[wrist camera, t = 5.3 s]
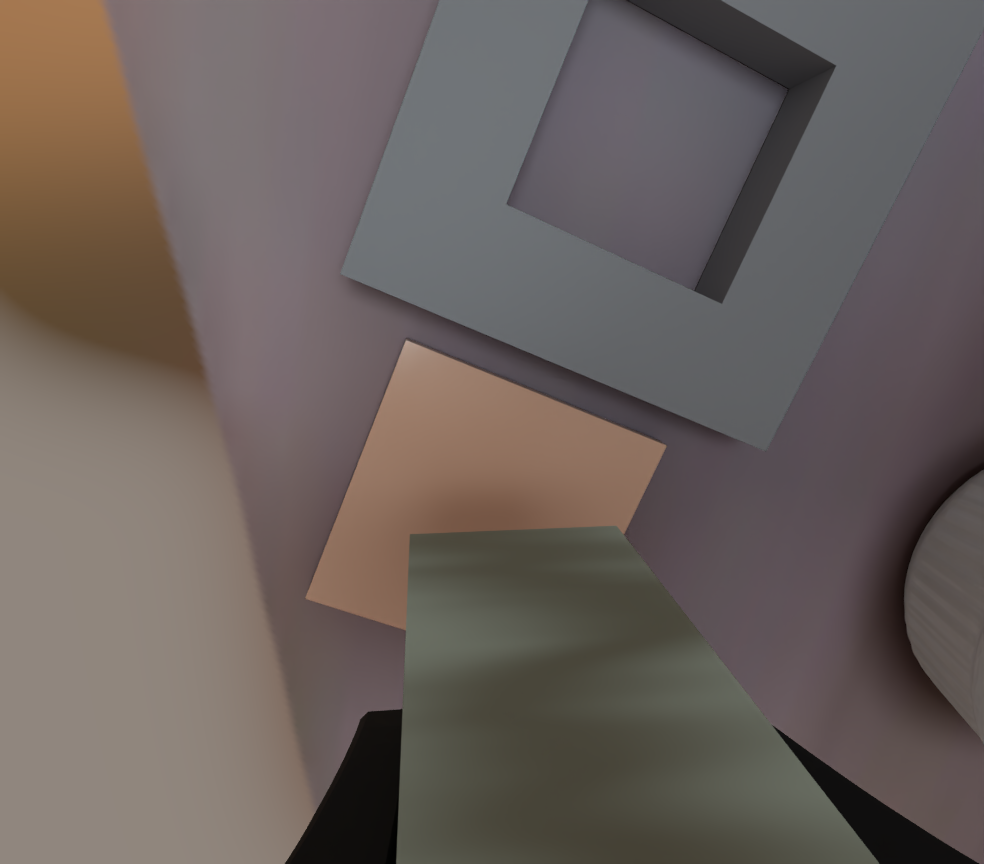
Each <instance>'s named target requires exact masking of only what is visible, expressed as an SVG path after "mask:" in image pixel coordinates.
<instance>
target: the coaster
mask: <svg viewBox="0 0 984 864" xmlns="http://www.w3.org/2000/svg"><path fill="white" fill-rule="evenodd" d="M666 447H667V445H665V444H664V443H662V442H661V441H660V440H657V439H655V438H652V437H650V436H647V435H645V434H642V433H640V432H637V431H635V430H632V429H630V428H628V427H625V426H623V425H620V424H618V423H615V422H613V421H610V420H608V419H605V418H603V417H600V416H598V415H596V414H593V413H591V412H588V411H586V410H583V409H581V408H578V407H576V406H573V405H571V404H568V403H566V402H564V401H561V400H559V399H556V398H554V397H551V396H549V395H546V394H544V393H541V392H539V391H536V390H534V389H531V388H529V387H527V386H524V385H522V384H519V383H517V382H514V381H512V380H509V379H507V378H504V377H502V376H499V375H497V374H495V373H492V372H490V371H487V370H485V369H482V368H480V367H477V366H475V365H472V364H470V363H467V362H465V361H462V360H460V359H458V358H455V357H453V356H450V355H448V354H445V353H443V352H440V351H438V350H435V349H433V348H430V347H428V346H426V345H423V344H421V343H418V342H416V341H413V340H411V339H408V338H406V340H405V343H404V346H403V348H402V351H401V353H400V356H399V358H398V361H397V364H396V366H395V369H394V371H393V374H392V376H391V379H390V381H389V384H388V387H387V389H386V392H385V394H384V397H383V399H382V402H381V405H380V407H379V410H378V412H377V415H376V417H375V420H374V423H373V425H372V428H371V430H370V433H369V435H368V438H367V440H366V443H365V446H364V448H363V451H362V453H361V456H360V458H359V461H358V464H357V466H356V469H355V471H354V474H353V476H352V479H351V482H350V484H349V487H348V489H347V492H346V494H345V497H344V499H343V502H342V505H341V507H340V510H339V512H338V515H337V517H336V520H335V523H334V525H333V528H332V530H331V533H330V535H329V538H328V540H327V543H326V546H325V548H324V551H323V553H322V556H321V558H320V561H319V564H318V566H317V569H316V571H315V574H314V576H313V579H312V582H311V584H310V587H309V589H308V592H307V595H306V598H305V599H308V600H311V601H314V602H317V603H320V604H323V605H327V606H330V607H333V608H336V609H339V610H343V611H346V612H349V613H352V614H355V615H358V616H362V617H365V618H368V619H371V620H374V621H377V622H381V623H384V624H387V625H390V626H393V627H396V628H400V629H403V630H406V615H407V591H408V567H409V543H410V534H427V533H451V532H475V531H499V530H523V529H548V528H572V527H596V526H617V527H618V528H619V530H620V531H621V532H622V533H623V535H624V533H625V531H626V529H627V527H628V525H629V523H630V521H631V519H632V517H633V515H634V513H635V511H636V509H637V507H638V504H639V502H640V500H641V498H642V496H643V494H644V492H645V490H646V488H647V486H648V484H649V482H650V480H651V478H652V476H653V473H654V471H655V469H656V467H657V465H658V463H659V461H660V459H661V457H662V455H663V453H664V451H665V449H666Z"/></svg>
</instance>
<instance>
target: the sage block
mask: <svg viewBox="0 0 984 864" xmlns="http://www.w3.org/2000/svg"><path fill="white" fill-rule="evenodd" d="M396 864H879V862H878V861H877V860H876V859H875V857H874V856H873V855H872V853H871V852H870V851H869V850H868V848H867V847H866V846H865V844H864V843H863V842H862V841H861V839H860V838H859V837H858V835H857V834H856V833H855V832H854V830H853V829H852V828H851V826H850V825H849V824H848V823H847V821H846V820H845V819H844V817H843V816H842V815H841V814H840V812H839V811H838V810H837V808H836V807H835V806H834V805H833V803H832V802H831V801H830V799H829V798H828V797H827V796H826V794H825V793H824V792H823V790H822V789H821V788H820V787H819V785H818V784H817V783H816V781H815V780H814V779H813V778H812V776H811V775H810V774H809V772H808V771H807V770H806V769H805V767H804V766H803V765H802V763H801V762H800V761H799V760H798V758H797V757H796V756H795V754H794V753H793V752H792V751H791V749H790V748H789V747H788V745H787V744H786V743H785V742H784V740H783V739H782V738H781V736H780V735H779V734H778V733H777V731H776V730H775V729H774V727H773V726H772V725H771V724H770V722H769V721H768V720H767V718H766V717H765V716H764V715H763V713H762V712H761V711H760V709H759V708H758V707H757V706H756V704H755V703H754V702H753V700H752V699H751V698H750V697H749V695H748V694H747V693H746V691H745V690H744V689H743V688H742V686H741V685H740V684H739V683H738V681H737V680H736V679H735V677H734V676H733V675H732V674H731V672H730V671H729V670H728V668H727V667H726V666H725V665H724V663H723V662H722V661H721V659H720V658H719V657H718V656H717V654H716V653H715V652H714V650H713V649H712V648H711V647H710V645H709V644H708V643H707V641H706V640H705V639H704V638H703V636H702V635H701V634H700V632H699V631H698V630H697V629H696V627H695V626H694V625H693V623H692V622H691V621H690V620H689V618H688V617H687V616H686V614H685V613H684V612H683V611H682V609H681V608H680V607H679V605H678V604H677V603H676V602H675V600H674V599H673V598H672V596H671V595H670V594H669V593H668V591H667V590H666V589H665V587H664V586H663V585H662V584H661V582H660V581H659V580H658V578H657V577H656V576H655V575H654V573H653V572H652V571H651V569H650V568H649V567H648V566H647V564H646V563H645V562H644V560H643V559H642V558H641V557H640V555H639V554H638V553H637V551H636V550H635V549H634V548H633V546H632V545H631V544H630V542H629V541H628V540H627V539H626V537H625V536H624V535H623V533H622V532H621V531H620V530H619V528H618V527H617V526H596V527H572V528H548V529H523V530H499V531H475V532H451V533H427V534H410V543H409V567H408V591H407V615H406V640H405V664H404V688H403V713H402V737H401V761H400V785H399V810H398V834H397V858H396Z"/></svg>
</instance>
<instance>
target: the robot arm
mask: <svg viewBox="0 0 984 864" xmlns="http://www.w3.org/2000/svg"><path fill="white" fill-rule="evenodd" d="M402 713H403V709H401V710H387V711H372V712H368V713H367V714H365V715H364V716H363V717H362V718H361V719H360V722H359V725H358V728H357V731H356V733H355V735H354V738H353V740H352V742H351V745H350V747H349V749H348V751H347V754H346V756H345V758H344V760H343V762H342V764H341V766H340V768H339V770H338V772H337V774H336V776H335V778H334V780H333V782H332V784H331V786H330V788H329V789H328V791H327V793H326V795H325V796H324V798H323V800H322V802H321V804H320V805H319V807H318V809H317V811H316V813H315V814H314V816H313V818H312V820H311V822H310V824H309V825H308V827H307V829H306V830H305V832H304V834H303V836H302V837H301V839H300V841H299V842H298V844H297V846H296V847H295V849H294V850H293V852H292V853H291V855H290V857H289V858H288V860H287V861H286V863H285V864H396V858H397V834H398V810H399V785H400V761H401V737H402ZM772 726H773V725H772ZM773 727H774V726H773ZM774 729H775V730H776V731H777V733H778V734H779V735H780V736H781V738H782V739H783V740H784V742H785V743H786V744H787V745H788V747H789V748H790V749H791V751H792V752H793V753H794V754H795V756H796V757H797V758H798V760H799V761H800V762H801V763H802V765H803V766H804V767H805V769H806V770H807V771H808V772H809V774H810V775H811V776H812V778H813V779H814V780H815V781H816V783H817V784H818V785H819V787H820V788H821V789H822V790H823V792H824V793H825V794H826V796H827V797H828V798H829V799H830V801H831V802H832V803H833V805H834V806H835V807H836V808H837V810H838V811H839V812H840V814H841V815H842V816H843V817H844V819H845V820H846V821H847V823H848V824H849V825H850V826H851V828H852V829H853V830H854V832H855V833H856V834H857V835H858V837H859V838H860V839H861V841H862V842H863V843H864V844H865V846H866V847H867V848H868V850H869V851H870V852H871V853H872V855H873V856H874V857H875V859H876V860H877V861H878V862H879V864H979V863H977V862H975V861H974V860H972V859H970V858H969V857H967V856H965V855H964V854H962V853H960V852H959V851H957V850H955V849H954V848H952V847H950V846H949V845H947V844H945V843H944V842H942V841H941V840H939V839H937V838H936V837H934V836H933V835H931V834H930V833H928V832H927V831H925V830H923V829H922V828H920V827H919V826H917V825H916V824H914V823H913V822H911V821H909V820H908V819H906V818H905V817H903V816H902V815H900V814H899V813H897V812H895V811H894V810H892V809H891V808H889V807H888V806H886V805H885V804H883V803H882V802H880V801H879V800H877V799H876V798H874V797H873V796H871V795H870V794H868V793H867V792H865V791H864V790H863V789H861V788H860V787H858V786H857V785H855V784H854V783H852V782H851V781H849V780H848V779H847V778H845V777H844V776H842V775H841V774H839V773H838V772H837V771H835V770H834V769H832V768H831V767H829V766H828V765H827V764H825V763H824V762H822V761H821V760H820V759H818V758H817V757H815V756H814V755H813V754H811V753H810V752H808V751H807V750H806V749H804V748H803V747H802V746H800V745H799V744H797V743H796V742H795V741H793V740H792V739H791V738H789V737H788V736H786V735H785V734H784V733H782V732H781V731H780V730H778V729H777V728H775V727H774Z"/></svg>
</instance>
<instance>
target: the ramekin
mask: <svg viewBox="0 0 984 864" xmlns="http://www.w3.org/2000/svg"><path fill="white" fill-rule="evenodd" d="M904 609H905V622H906V626H907V635H908V638H909V640H910V642H911V646H912V651H913V653H914V655H915V657H916V658H917V660H918V661H919V664H920V666H921V667H922V669H923V670H924V671H925V673H926V674H927V675H928V677H929V678H930V679H931V681H932V682H933V683H934V684H935V686H936V687H937V688H938V689H939V690H940V691H941V693H942V694H943V695H944V696H945V697H946V699H947V700H948V701H949V702H950V703H951V705H952V706H953V707H954V708H955V709H956V710H957V712H958V713H959V714H960V715H961V716H962V718H963V719H964V720H965V721H966V722H967V723H968V725H969V726H970V727H971V728H972V729H973V730H974V731H975V733H976V734H977V735H978V736H979V737H980V738H981V740H982V742H983V745H984V470H982V471H981V472H979V473H978V474H976V475H975V476H973V477H972V478H970V479H969V480H968V481H966V482H965V483H964V484H963V485H962V486H961V487H959V488H958V489H957V490H956V491H955V492H954V493H953V494H952V495H951V496H950V497H949V498H948V499H947V500H946V501H945V502H944V503H943V504H942V505H941V506H940V508H939V509H938V510H937V511H936V513H935V514H934V515H933V517H932V518H931V520H930V521H929V523H928V524H927V525H926V527H925V529H924V531H923V532H922V534H921V536H920V538H919V540H918V542H917V545H916V547H915V549H914V551H913V553H912V556H911V560H910V563H909V566H908V570H907V575H906V581H905V588H904Z"/></svg>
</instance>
